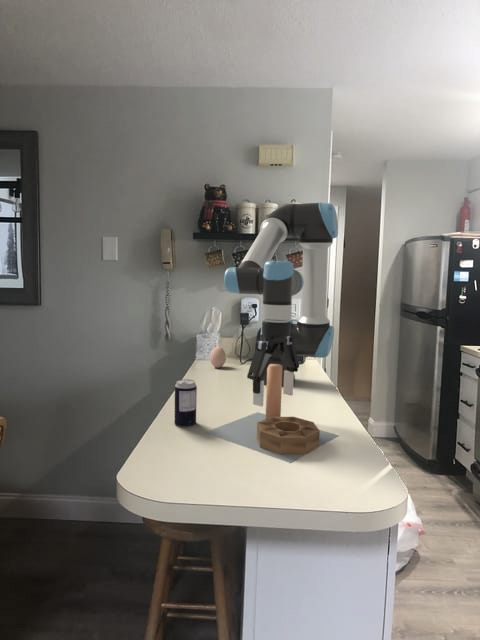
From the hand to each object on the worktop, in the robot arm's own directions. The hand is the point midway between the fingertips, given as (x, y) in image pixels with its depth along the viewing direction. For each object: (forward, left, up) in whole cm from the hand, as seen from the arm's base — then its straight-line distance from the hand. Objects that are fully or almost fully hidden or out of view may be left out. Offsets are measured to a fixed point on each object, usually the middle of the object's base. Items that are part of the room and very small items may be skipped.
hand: (273, 399), depth 119 cm
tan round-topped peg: (0, 0, -7) cm, 7 cm away
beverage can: (+16, -17, -8) cm, 25 cm away
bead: (+8, +10, -7) cm, 14 cm away
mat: (+6, +4, -7) cm, 10 cm away
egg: (-41, -58, -8) cm, 71 cm away
